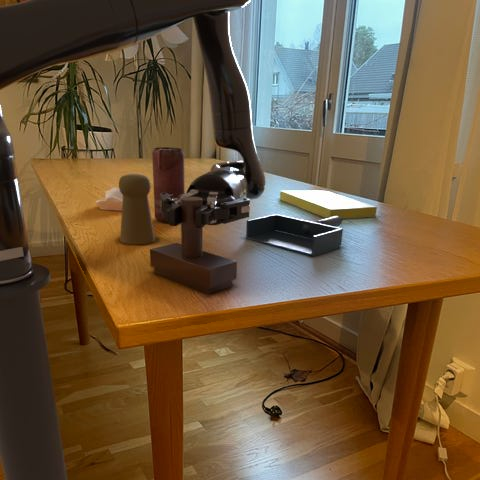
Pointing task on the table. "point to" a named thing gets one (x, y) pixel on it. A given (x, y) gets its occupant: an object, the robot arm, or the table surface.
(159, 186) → the can
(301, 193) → the yellow foam board
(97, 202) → the pale pink lumpy piece
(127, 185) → the cork
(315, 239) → the dustpan
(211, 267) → the stamp
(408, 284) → the table surface
